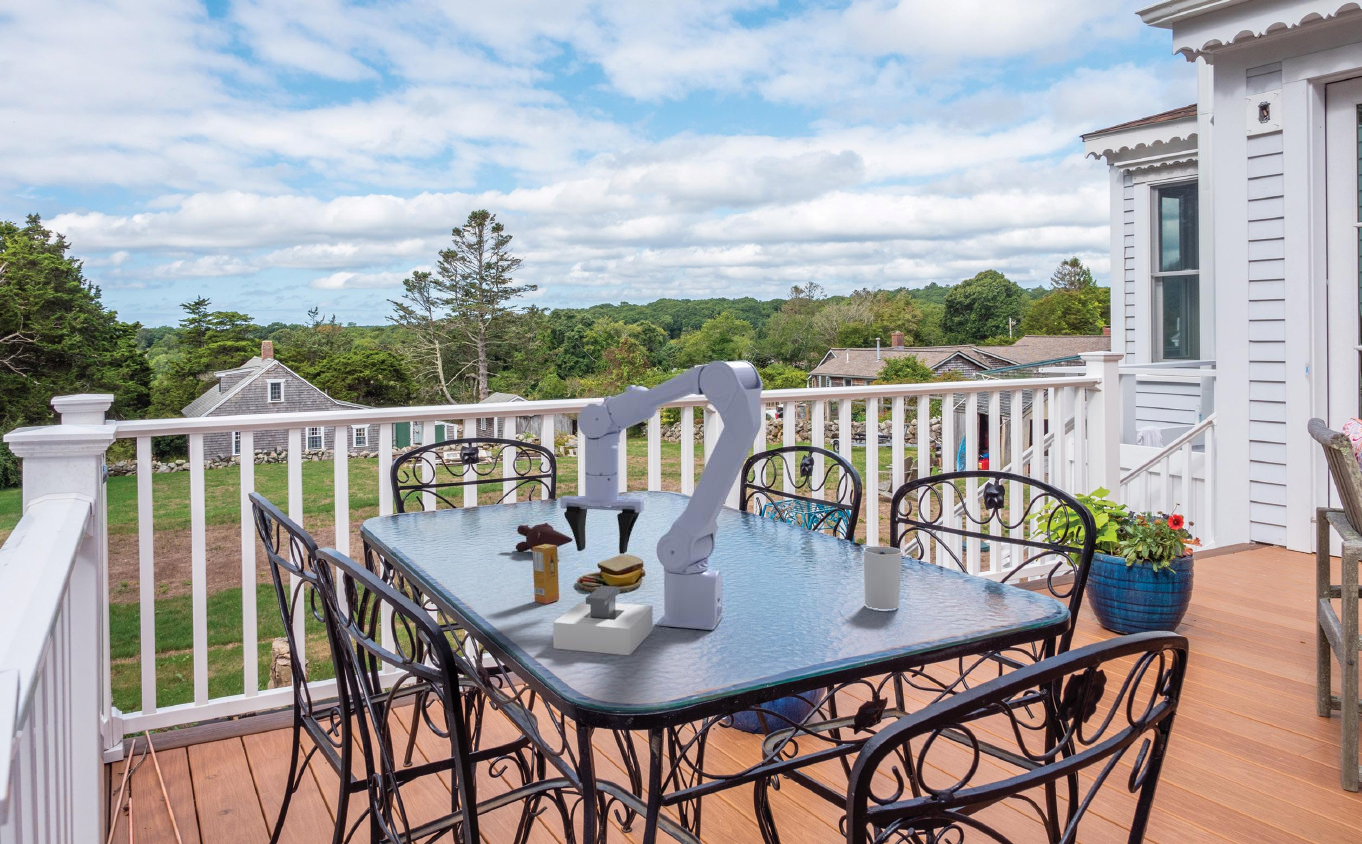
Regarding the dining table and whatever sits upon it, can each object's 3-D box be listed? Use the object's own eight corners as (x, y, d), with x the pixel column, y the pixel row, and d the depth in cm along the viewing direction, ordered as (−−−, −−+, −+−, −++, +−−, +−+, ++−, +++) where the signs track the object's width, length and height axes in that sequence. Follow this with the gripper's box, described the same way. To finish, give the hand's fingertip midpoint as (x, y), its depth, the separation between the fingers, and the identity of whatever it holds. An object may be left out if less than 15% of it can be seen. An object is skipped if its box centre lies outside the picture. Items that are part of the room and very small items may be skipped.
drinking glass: (854, 603, 159) (855, 548, 158) (885, 599, 161) (887, 544, 160) (877, 614, 153) (878, 556, 152) (909, 609, 155) (910, 552, 154)
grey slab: (619, 624, 141) (619, 586, 141) (604, 638, 135) (604, 598, 134) (601, 622, 142) (601, 585, 142) (585, 636, 135) (585, 597, 135)
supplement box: (546, 597, 162) (546, 542, 161) (559, 600, 160) (559, 545, 159) (532, 601, 160) (531, 545, 159) (545, 604, 157) (545, 548, 157)
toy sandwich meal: (566, 582, 173) (566, 558, 173) (628, 573, 180) (628, 550, 180) (593, 598, 162) (593, 572, 162) (658, 588, 169) (659, 563, 169)
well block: (652, 630, 143) (652, 605, 143) (629, 655, 132) (629, 628, 132) (582, 624, 146) (581, 600, 146) (553, 648, 135) (553, 622, 135)
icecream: (583, 524, 196) (528, 523, 203) (562, 521, 189) (507, 521, 197) (581, 556, 194) (526, 555, 202) (560, 555, 188) (504, 553, 195)
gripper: (553, 474, 152) (554, 553, 153) (635, 478, 148) (635, 559, 149) (568, 469, 159) (569, 544, 160) (647, 472, 155) (647, 549, 156)
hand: (602, 551), depth 155 cm, fingers open, 7 cm apart
